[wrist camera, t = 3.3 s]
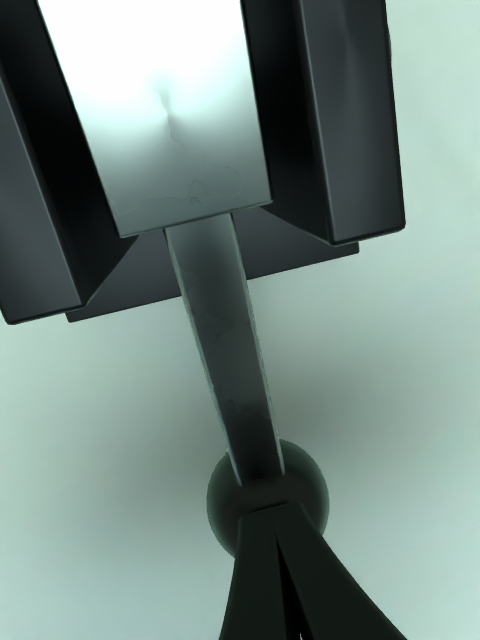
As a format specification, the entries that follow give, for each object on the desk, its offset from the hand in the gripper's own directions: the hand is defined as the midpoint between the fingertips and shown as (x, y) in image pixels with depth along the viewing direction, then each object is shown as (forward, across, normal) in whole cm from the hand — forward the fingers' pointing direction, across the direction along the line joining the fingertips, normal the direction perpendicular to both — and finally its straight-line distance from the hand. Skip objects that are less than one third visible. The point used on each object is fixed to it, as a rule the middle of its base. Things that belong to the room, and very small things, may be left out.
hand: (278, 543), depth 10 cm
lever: (+2, 0, -5) cm, 5 cm away
